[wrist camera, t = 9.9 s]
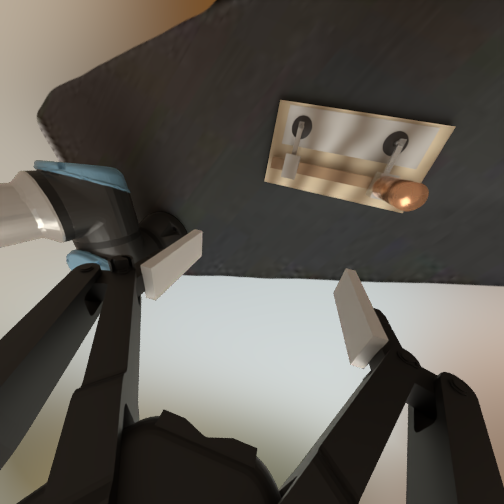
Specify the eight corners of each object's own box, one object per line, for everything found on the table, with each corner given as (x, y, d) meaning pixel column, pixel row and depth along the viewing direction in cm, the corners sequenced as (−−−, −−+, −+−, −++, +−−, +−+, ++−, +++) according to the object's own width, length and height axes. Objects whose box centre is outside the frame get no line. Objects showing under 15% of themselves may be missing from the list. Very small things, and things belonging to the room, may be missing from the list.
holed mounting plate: (265, 180, 40) (260, 183, 36) (281, 101, 33) (277, 93, 29) (399, 211, 36) (411, 218, 31) (450, 127, 29) (474, 122, 24)
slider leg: (361, 192, 34) (386, 209, 23) (387, 138, 30) (434, 126, 19) (380, 197, 34) (415, 216, 23) (409, 142, 29) (471, 131, 18)
